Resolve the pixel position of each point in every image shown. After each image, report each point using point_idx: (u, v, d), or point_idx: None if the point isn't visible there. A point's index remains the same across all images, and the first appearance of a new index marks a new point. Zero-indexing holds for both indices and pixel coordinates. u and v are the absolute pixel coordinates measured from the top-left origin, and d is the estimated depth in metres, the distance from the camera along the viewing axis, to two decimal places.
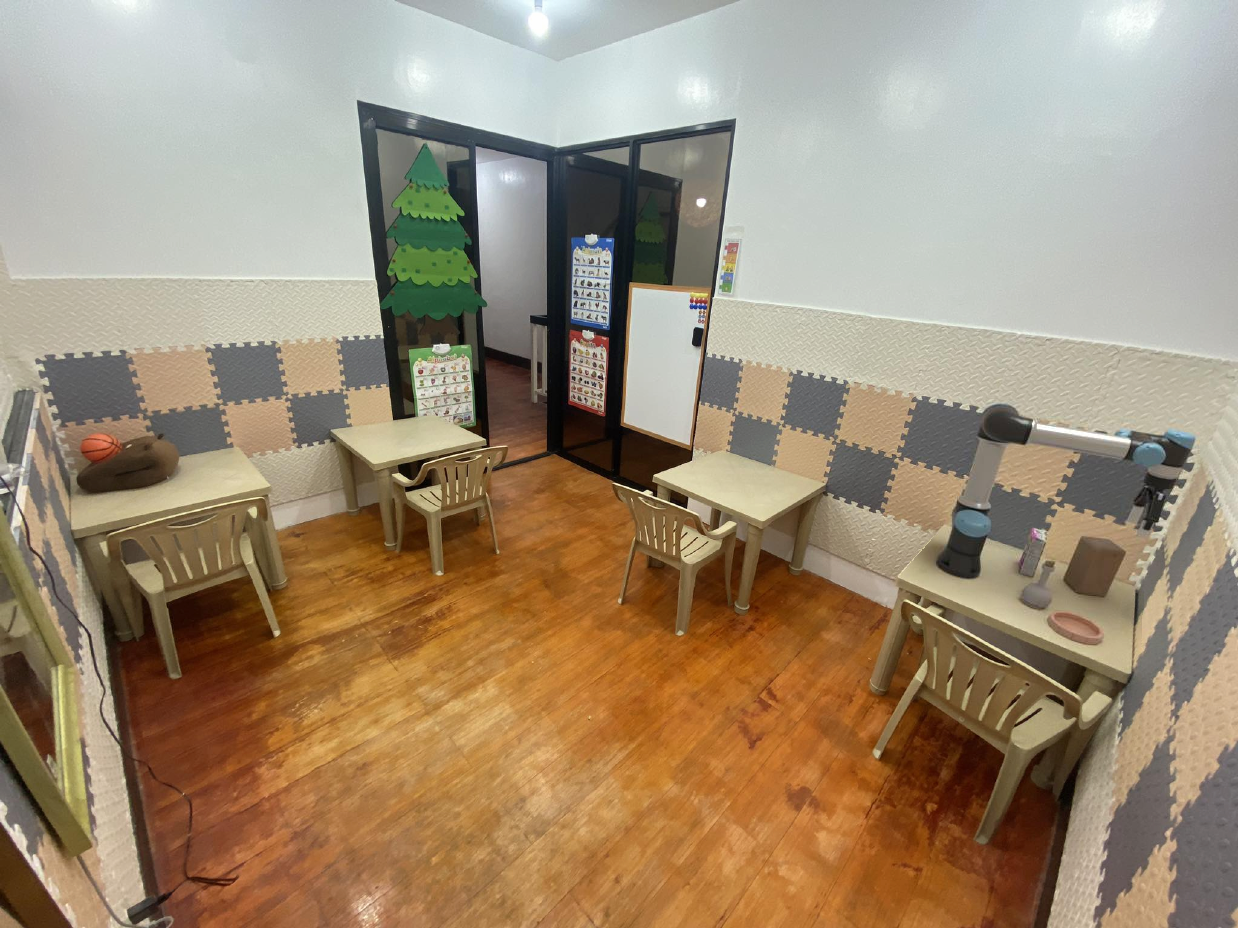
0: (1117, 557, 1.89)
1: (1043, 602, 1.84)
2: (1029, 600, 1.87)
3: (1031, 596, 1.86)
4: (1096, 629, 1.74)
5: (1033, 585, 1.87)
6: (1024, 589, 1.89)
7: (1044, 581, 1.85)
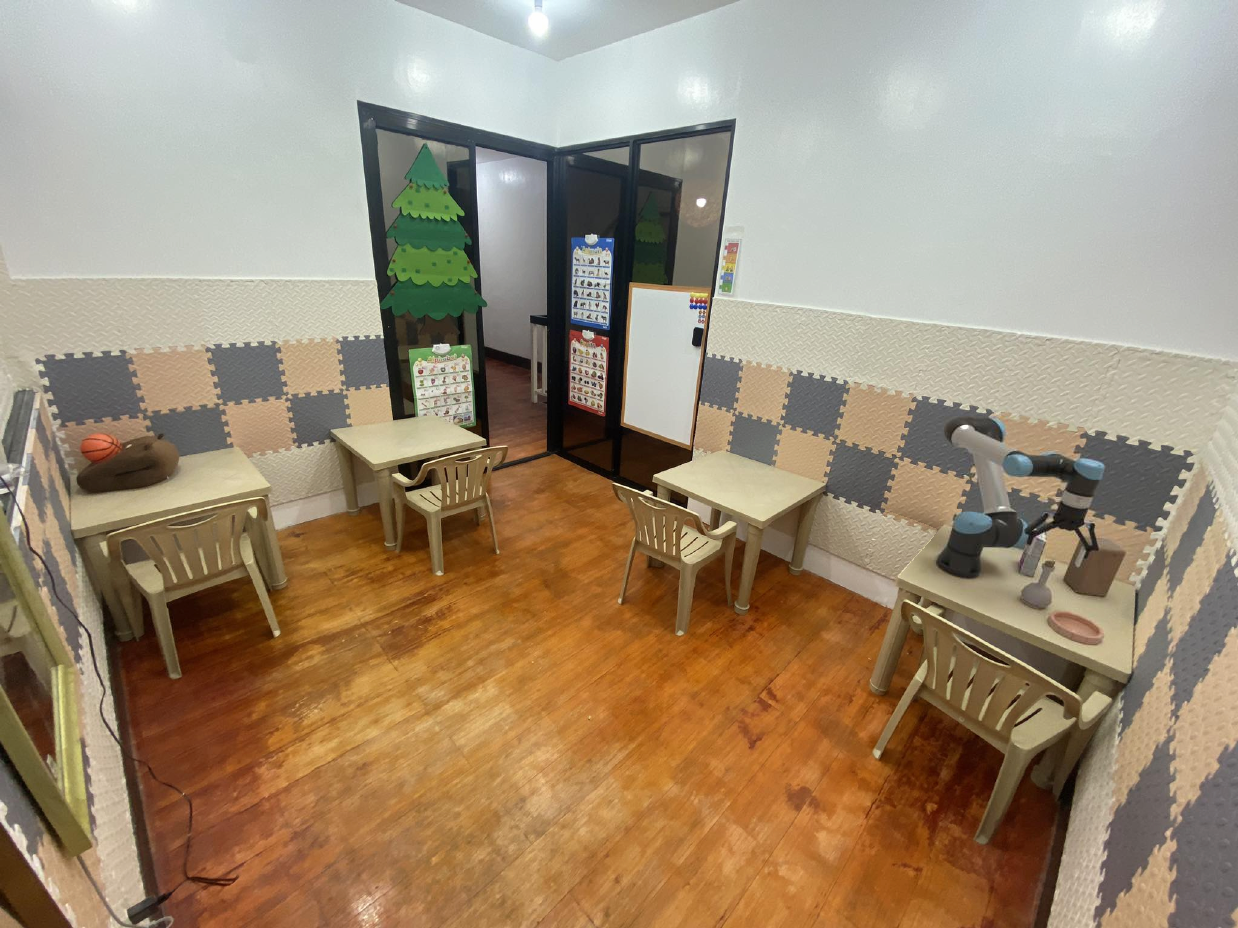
0: (1117, 557, 1.89)
1: (1043, 602, 1.84)
2: (1029, 600, 1.87)
3: (1031, 596, 1.86)
4: (1096, 629, 1.74)
5: (1033, 585, 1.87)
6: (1024, 589, 1.89)
7: (1044, 581, 1.85)
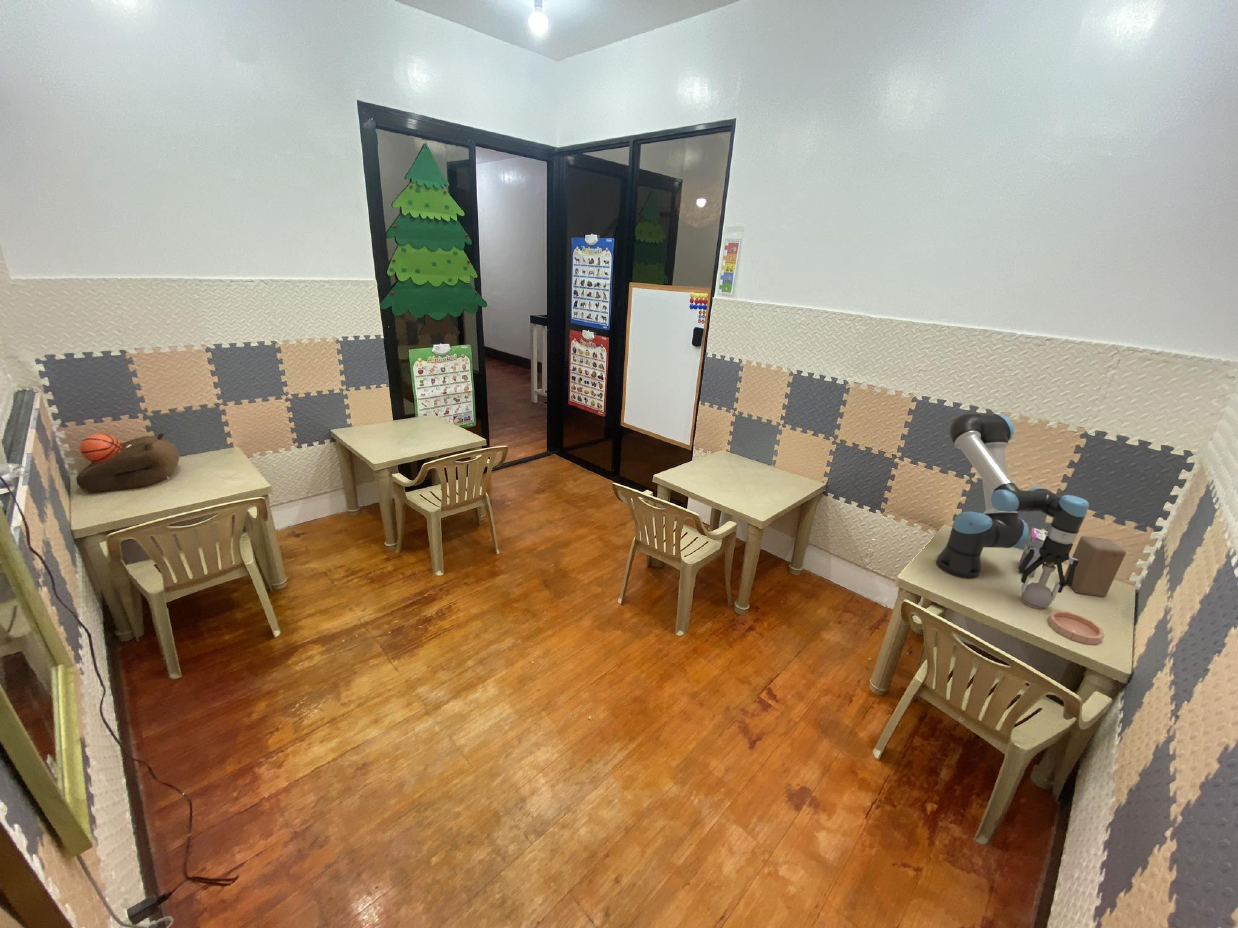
0: (1118, 557, 1.89)
1: (1043, 602, 1.84)
2: (1029, 600, 1.87)
3: (1032, 596, 1.86)
4: (1096, 629, 1.74)
5: (1034, 585, 1.87)
6: None
7: (1044, 581, 1.85)
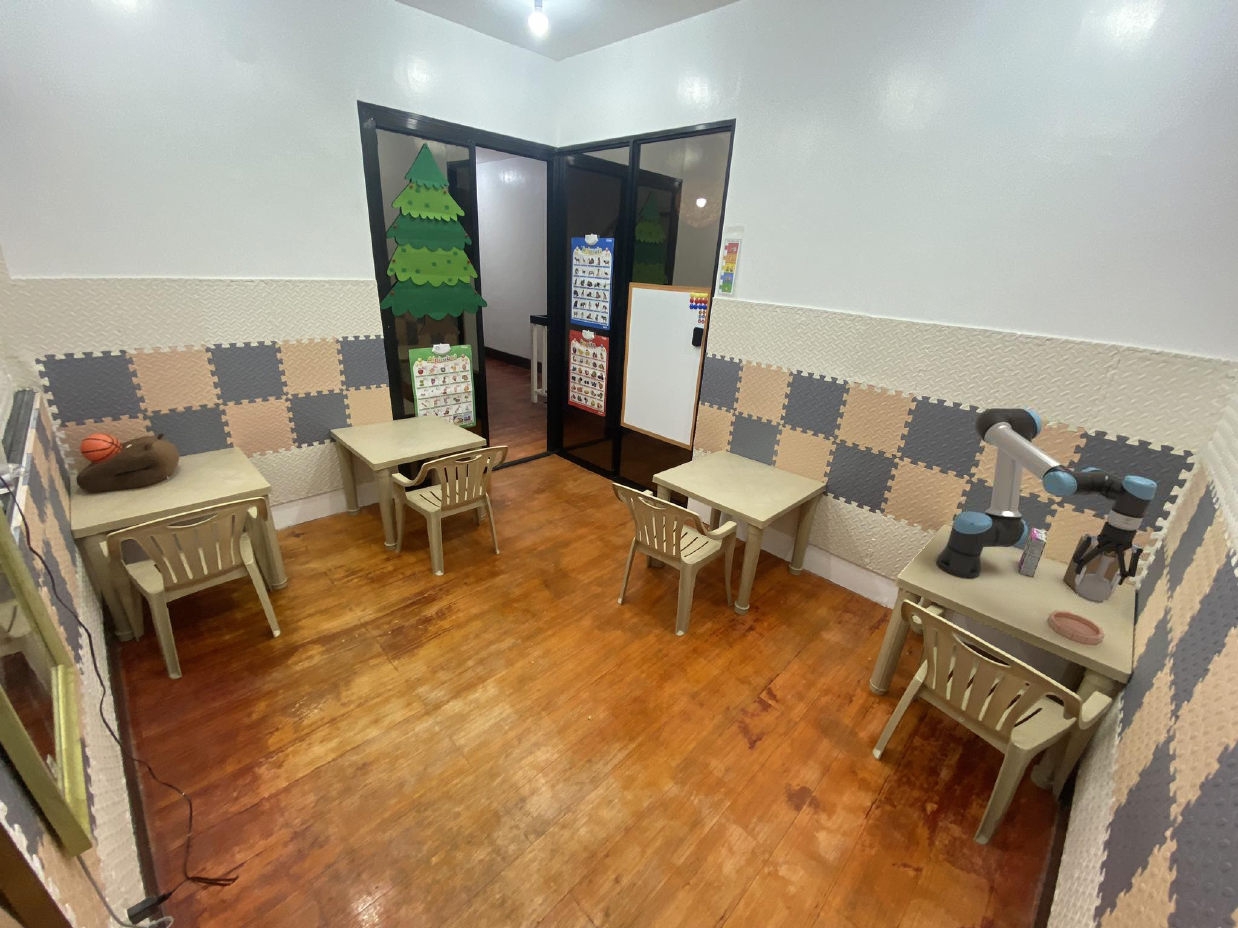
0: None
1: (1102, 595, 1.66)
2: (1086, 593, 1.68)
3: (1088, 589, 1.68)
4: (1096, 629, 1.74)
5: (1090, 576, 1.69)
6: None
7: (1103, 572, 1.66)
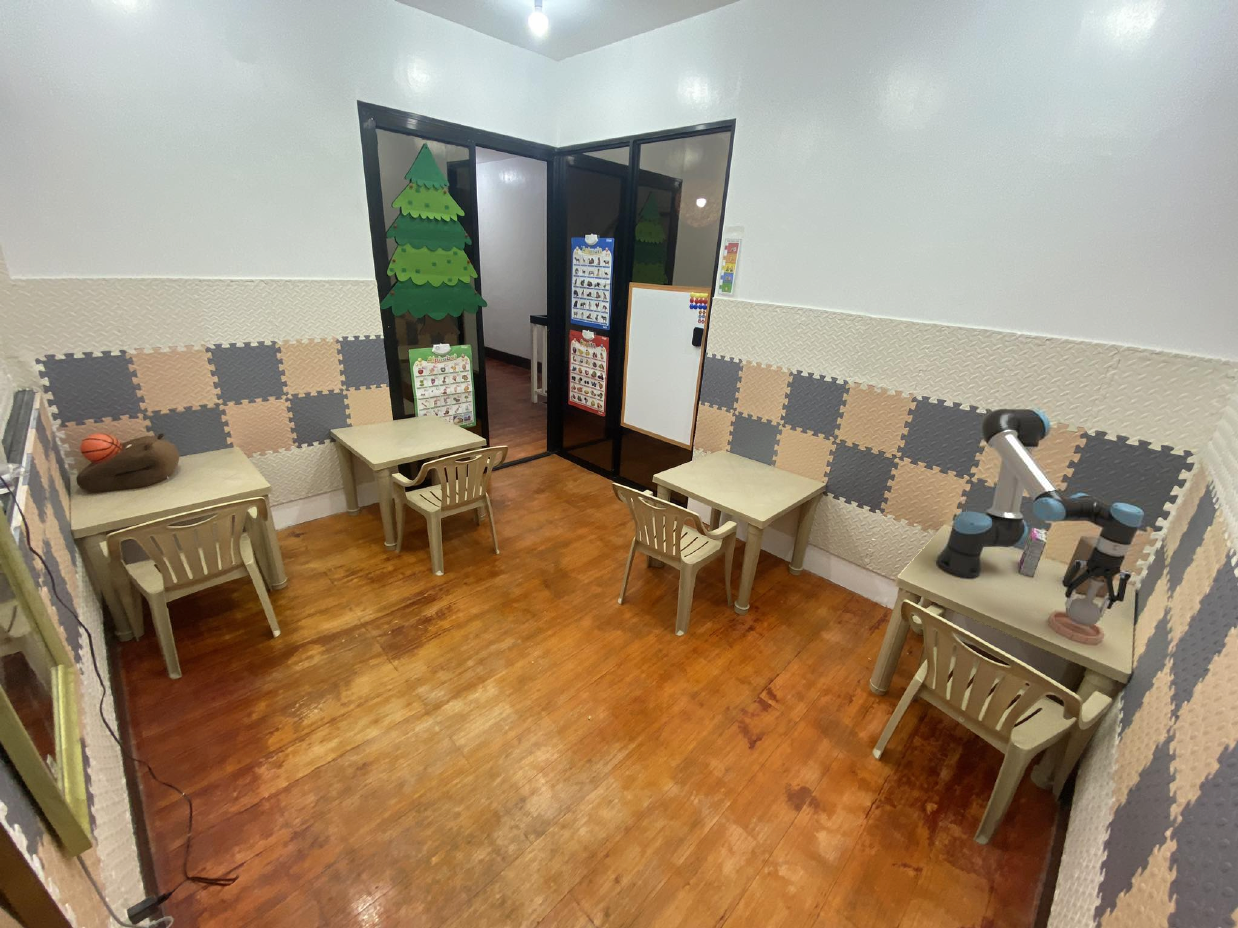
0: None
1: (1091, 619, 1.69)
2: (1075, 617, 1.72)
3: (1078, 613, 1.71)
4: (1096, 629, 1.74)
5: (1080, 600, 1.72)
6: None
7: (1092, 596, 1.70)
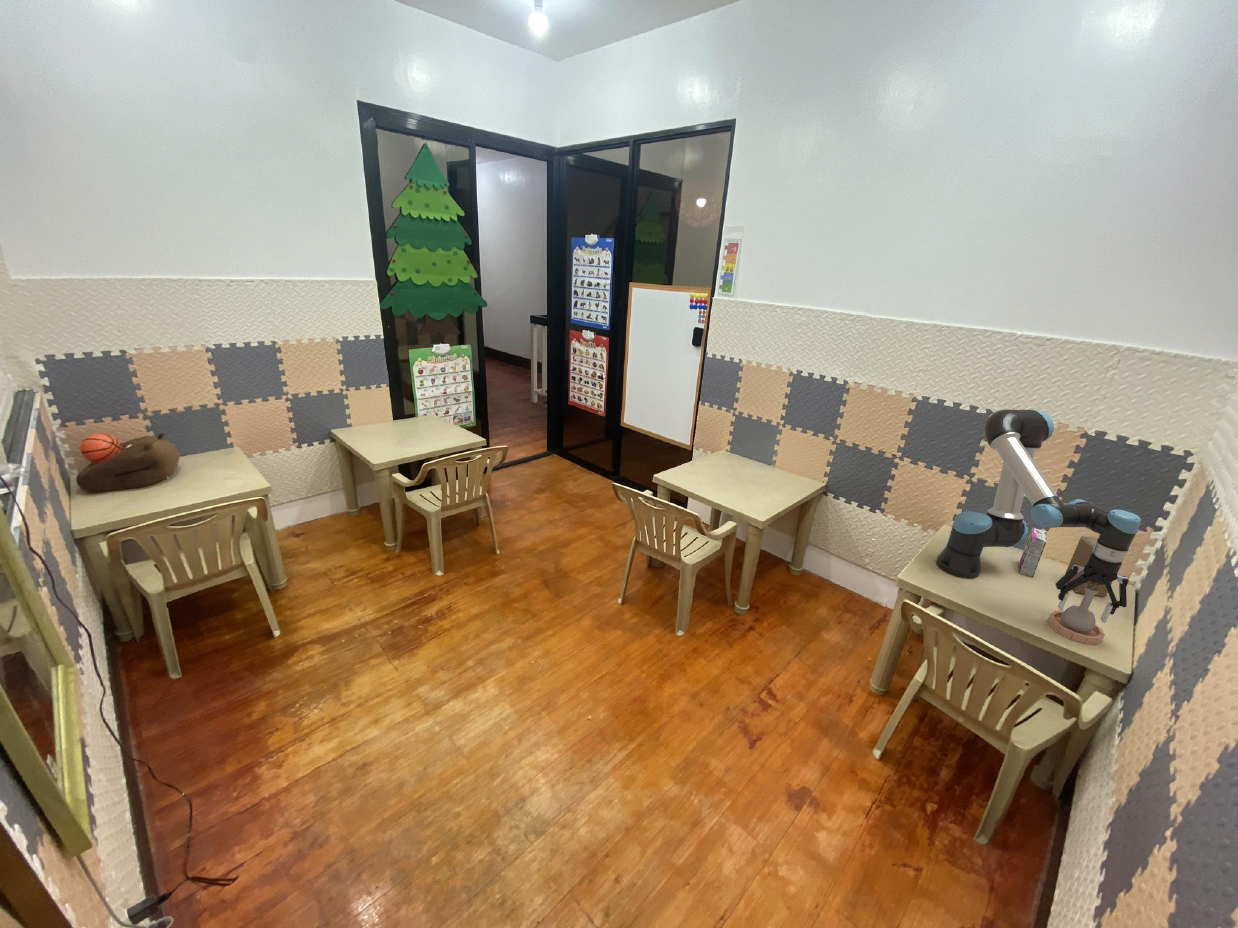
0: None
1: (1086, 627, 1.71)
2: (1071, 625, 1.73)
3: (1073, 621, 1.72)
4: (1096, 629, 1.74)
5: (1075, 608, 1.74)
6: (1064, 613, 1.76)
7: (1087, 604, 1.71)
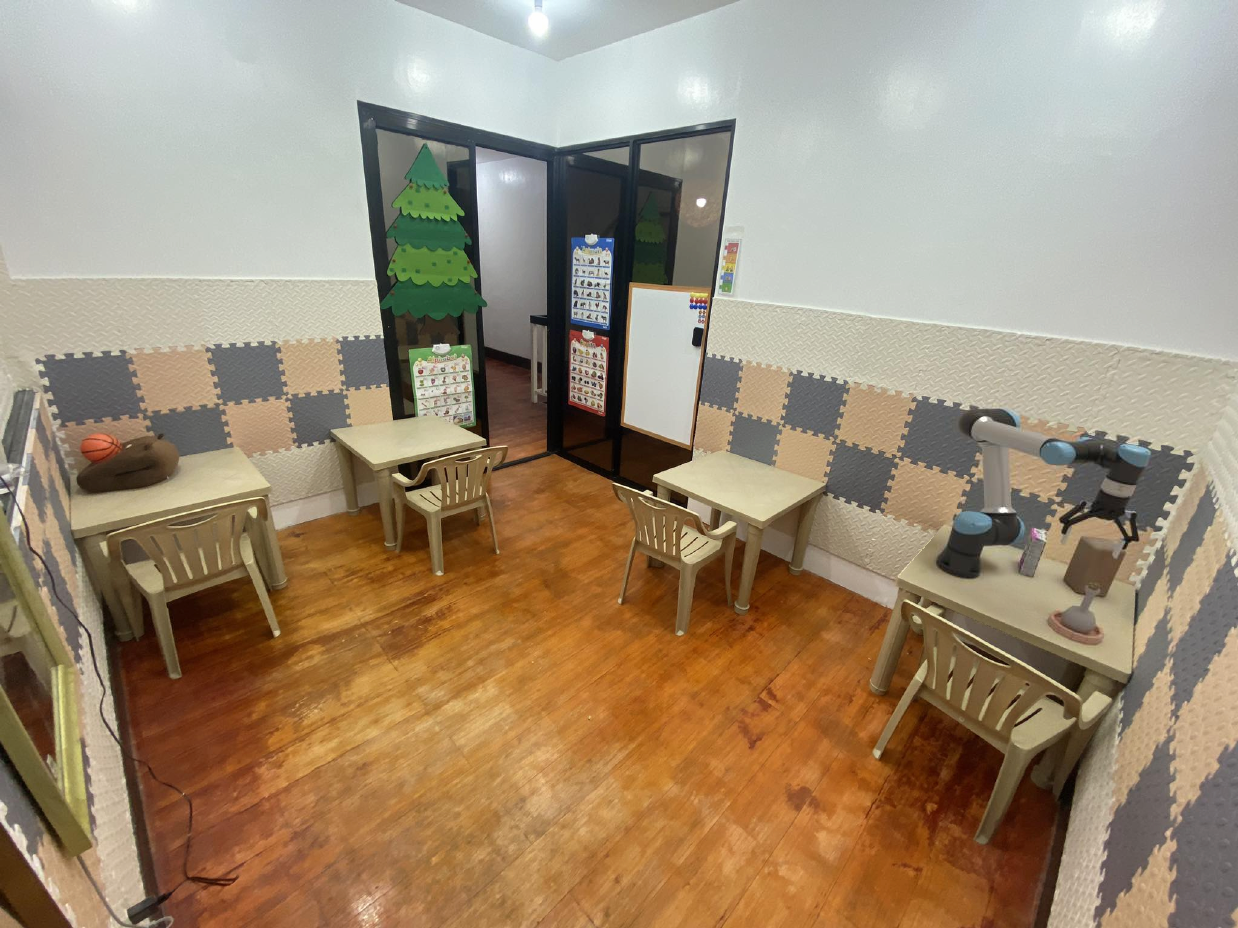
0: (1117, 557, 1.89)
1: (1086, 628, 1.71)
2: (1071, 625, 1.73)
3: (1073, 621, 1.72)
4: (1096, 629, 1.74)
5: (1075, 608, 1.74)
6: (1065, 613, 1.76)
7: (1087, 605, 1.71)
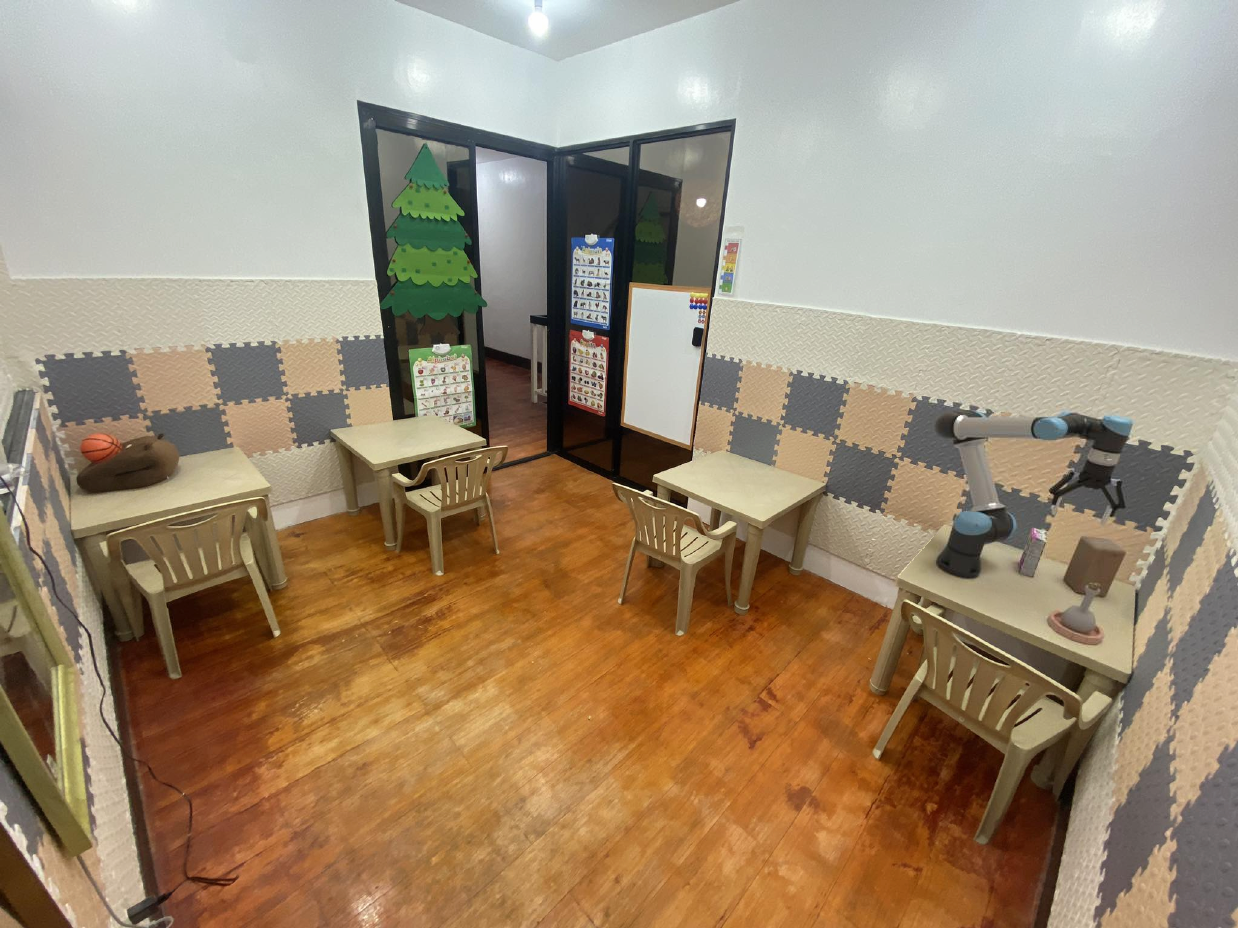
0: (1117, 557, 1.89)
1: (1086, 628, 1.71)
2: (1071, 625, 1.73)
3: (1073, 621, 1.72)
4: (1096, 629, 1.74)
5: (1075, 608, 1.74)
6: (1065, 613, 1.76)
7: (1087, 605, 1.71)
